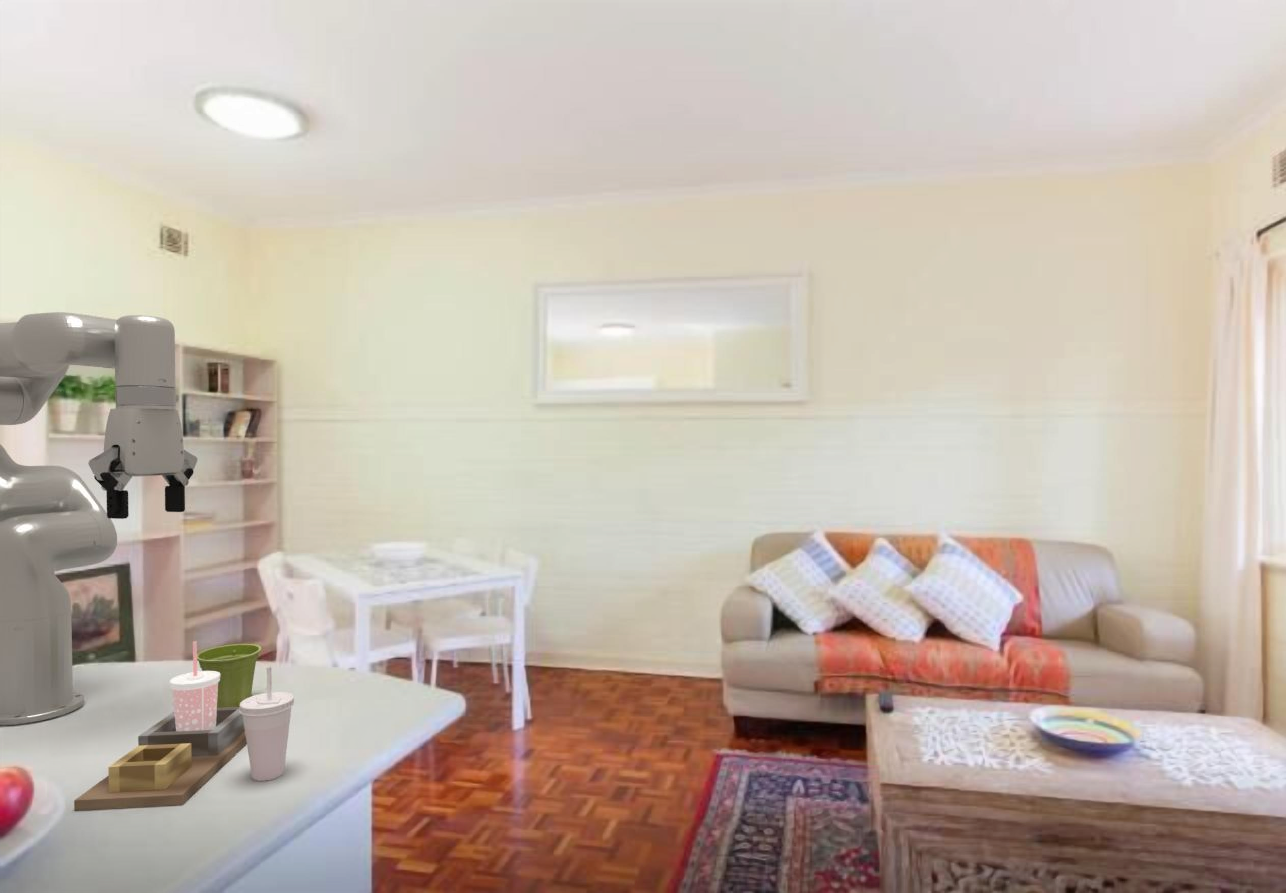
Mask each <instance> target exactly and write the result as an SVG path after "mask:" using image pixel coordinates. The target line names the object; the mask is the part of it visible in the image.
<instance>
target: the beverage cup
mask: <svg viewBox="0 0 1286 893" xmlns="http://www.w3.org/2000/svg"><path fill="white" fill-rule="evenodd" d="M197 654H198V641H197V640H194V641H192V667H193V668H192V669H193V670H192V671H191V672H186V673H183V674H179V675H176V676H174V677H172V678H171V679H170V680H169V685H170V686H169V687H170V689H171V690H172V699H173V700H172V701H173V712H175V724H176V731H195V730H213V729H214V728H215V727H216V715H217V696H218V682H219V681H220V673H219V672H216V671H202V670H198V660H197Z"/></svg>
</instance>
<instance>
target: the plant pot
mask: <svg viewBox="0 0 1286 893" xmlns="http://www.w3.org/2000/svg"><path fill="white" fill-rule="evenodd" d="M261 651H262V647H261V646H260V645H258V644H254V643H253V644H252V643H236V644H235V643H234V644H226V645H220V646H216V647H211V648H207V649H205V650H201V651H200V652H197V662H198V663H199V664H198V665H199V667H200V669H201V671H216V672H219V673H220V681H219V682H218V696H217V708H226V707H240V703H241V702H242V701H243V700H245V699H247V698H249V697H252V691H253V684H254V677H255V669H256V664H257V661H258V658H259V655H260V653H261Z"/></svg>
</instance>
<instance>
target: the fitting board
mask: <svg viewBox="0 0 1286 893" xmlns="http://www.w3.org/2000/svg"><path fill="white" fill-rule="evenodd" d="M239 710H240V707H226V708H217V715H216V727H215V728H214V729H213V730H195V731H176V724H175V712H174V711H173V712H171V713H169V714H168V715H167V716H165V717H164V718H163V719H161V720H159V721H158V722H156V723H155V724H154V725H152V726H151V727H150V728H148V729H147V730H145V731H143V732H142V733H140V734H139V735H138V737H137V741H138V742H137V743H138V744H137V745H138V746H136V747H134V748H133V749H131V751H129V752H128V753H126V754H125V755H123V756H122V757H121V758H119V759H118V760H115V762H114V763H112V764H111V765H109V766H108V774H107V776H106V777H104V778H103V779H102V780H100V781H99V782H97V783H96V784H95V785H94V786H92V787H90V788H89V789H88V790H86V792H84V793H82V794H81V795H80V796H78V797H77V798H76V799H74V801H73V802H74V804H73V810H79V811H97V810H108V809H109V810H113V809H131V808H149V807H168V806H183V805H184V804H185V803H186V802H187V801H188V800H189V799H190V798H192V797H193V796H194V795H195V794H196V793H197V792H198V791H199V790H200V789H201V788H203V787H204V786H205V784H206V783H208V782H209V780H211V778H213V776H215V775H216V774H217V773H218V772H219V771H220V770H221V769H222V768H223V767H224V766H225V765H226V764H227V763H229V762H230V761H231V760H232V759H233V758H234V757H235V756H236V755H237V754H238V753H239V752H240V751H241V750H242V749H243V748H244V747H246V746H247V741H246V735H245V728H244V722H243V715H242V714H240V712H239ZM236 753H237V754H236ZM235 754H236V755H235ZM233 756H234V757H233ZM232 757H233V758H232ZM231 758H232V759H231Z"/></svg>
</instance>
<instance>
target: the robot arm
mask: <svg viewBox="0 0 1286 893" xmlns="http://www.w3.org/2000/svg"><path fill="white" fill-rule="evenodd" d="M175 332H176V331H175V326H174V325H173V322H171V321H170V320H168V319H166V318H163V317H158V316H152V315H141V314H140V315H139V314H137V315H134V314H133V315H124V316H120V317H119V318H118V319H115V318H109V317H102V316H101V317H100V316H96V315H95V316H94V315H89V314H88V315H87V314H82V313H81V314H80V313H73V312H64V311H63V312H61V311H58V312H57V311H56V312H54V311H52V312H51V311H50V312H41V313H40V312H39V313H29V314H25V315H22V317H20V318H19V320H18V321H15V322H3V323H1V322H0V426H16V425H22V424H26V423H28V422H30V421H31V420H33V419H34V418H35V417H36V416H37V415H38V414H39V413H40V411H41V410H42V409H43V407H44V405H45V404H46V403H47V401H48V400H49V398H50V397H51V396H52V394H53V393H54V392H55V391H56V389H57V387H58V386H59V384H60V383H62V382H61V381H62V380H63V379H64V377H65V376H66V374H67V372H68V370H69V368H70V366H83V367H95V368H103V369H114V379H115V381H114V383H115V385H114V386H115V390H114V391H115V393H114V394H115V397H114V398H115V408H110V410H109V413H108V417H107V420H106V426H105V432H104V443H103V452H101V453H100V454H97V456H95V457H93V458H91V459H89V461H88V463H87V464H88V466H89V468H90V470H91V472H92V474H93V476H94V480H95V481H96V482H97V483H98V484H99V485H100V486H101V489H102V491H105V492H106V510H105V508H104V507H103V506H102V504H101V502H100V501H99V500H98V499H97V497H96V496H95V495H94V493H93V492H92V491H91V489H90V488H89V486H88V485H87V484H86V482H85V481H84V480H83V479H82V478H81V476H80V475H79V474H77V473H76V472H74V471H73V470H72V469H69V468H67V467H64V466H60V465H23V464H19V463H17V462H16V461H14V460H13V459H12V457H11V456H10V455H9V452H7V450H6V449H5V448H4V446H3V445H2V444H1V443H0V726H13V725H24V724H28V723H29V724H31V723H36V722H41V721H44V720H50V719H53V718H57V717H61V716H63V715H67V714H70V713H71V712H74V711H77V709H80V708H81V707H82V706H83V705H84V704H85V695H84V694H83V693H81V692H77V691H73V690H74V688H73V639H72V638H73V637H72V635H73V631H72V630H73V629H72V599H71V596H70V593H69V591H68V589H67V587H66V586H65V585H64V584H63V583H62V582H61V580H60V579H59V578H58V577H57V575H56V574H55V572H59V571H62V570H63V571H64V570H69V569H75V568H76V569H77V568H82V567H87V566H92V565H97V564H100V563H102V562H105V561H106V560H108V559H109V558H110V557H112V555H114V553H115V550H116V549H117V546H118V545H117V544H118V533H117V529H116V527H115V525H114V523H113V520H112V519H115V520H118V519H119V520H120V519H121V520H124V519H128V517H129V515H130V513H129V491H128V490H125V487H126V486H127V485H128V483H129V482H130V481H131V480H132V477H152V476H153V477H155V476H161V477H162V478H164V481H166V483H167V484H168V485H164V510H165V512H167V513H184V512H185V511H186V496H185V495H186V487H188V485H189V483H190V482H189V480H190V479H191V478H192V476H193V475H194V469H195V467H196V465H197V462H198V457H197V456H196V455H194V454H192V453H190V452H188V451H187V450H186V449H184V448H185V446H184V437H183V436H184V435H183V428H182V423H181V419H180V414H179V410H178V409H177V407H176V406H177V405H176V404H177V403H178V402H179V399H180V397H179V395H177V394H176V338H175V337H176V334H175Z"/></svg>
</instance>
